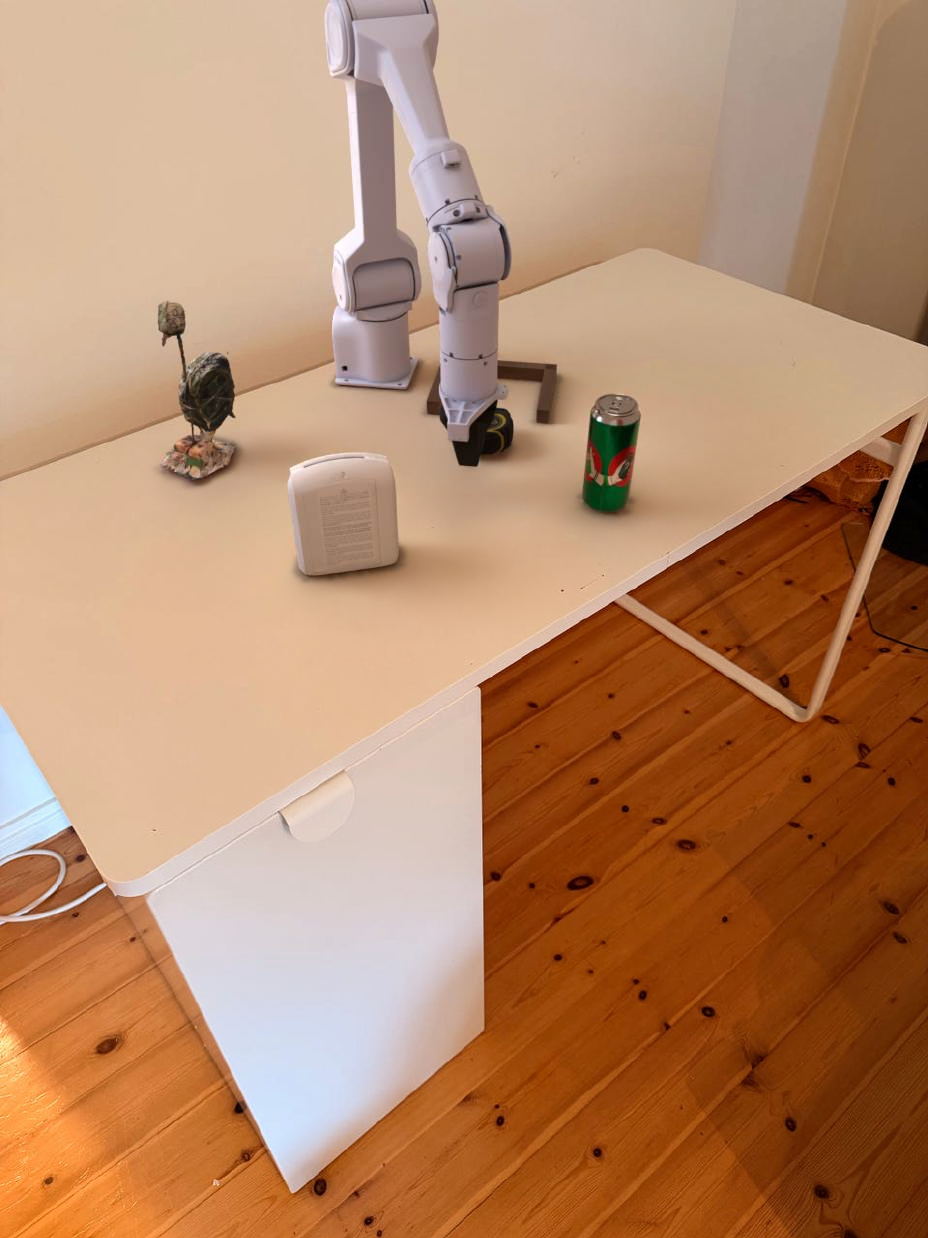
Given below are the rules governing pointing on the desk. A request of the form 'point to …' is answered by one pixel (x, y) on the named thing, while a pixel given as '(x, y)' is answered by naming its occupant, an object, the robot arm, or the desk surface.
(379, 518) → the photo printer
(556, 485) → the desk surface
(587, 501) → the soda can
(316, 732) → the desk surface
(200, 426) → the plant with pod
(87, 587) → the desk surface
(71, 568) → the desk surface
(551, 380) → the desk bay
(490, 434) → the tape measure
